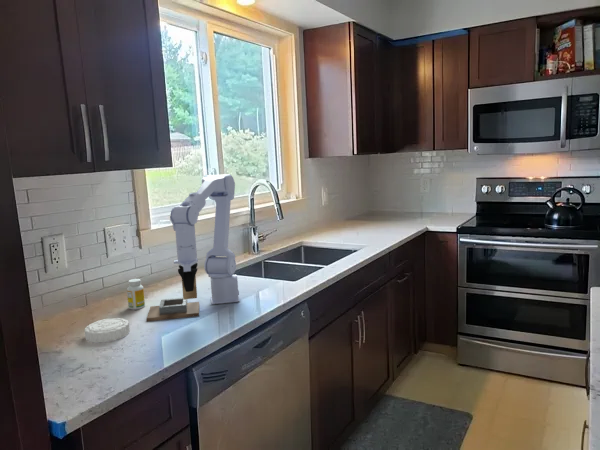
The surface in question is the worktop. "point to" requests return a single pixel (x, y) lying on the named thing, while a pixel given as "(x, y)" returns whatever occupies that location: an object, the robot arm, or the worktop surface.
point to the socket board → (173, 309)
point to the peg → (192, 293)
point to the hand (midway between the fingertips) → (189, 289)
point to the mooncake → (107, 330)
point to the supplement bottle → (135, 294)
